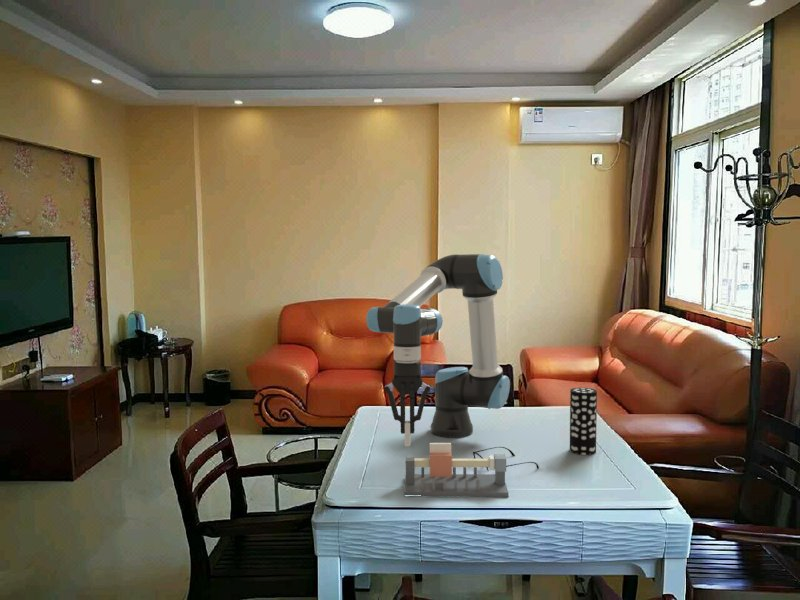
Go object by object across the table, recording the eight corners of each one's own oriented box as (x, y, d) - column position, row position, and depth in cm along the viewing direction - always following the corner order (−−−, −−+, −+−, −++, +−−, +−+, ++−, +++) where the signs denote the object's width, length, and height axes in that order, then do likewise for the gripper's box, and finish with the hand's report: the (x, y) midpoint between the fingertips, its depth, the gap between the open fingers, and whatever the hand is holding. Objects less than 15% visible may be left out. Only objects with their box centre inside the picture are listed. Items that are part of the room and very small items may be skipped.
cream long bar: (408, 471, 184) (408, 458, 183) (408, 466, 187) (408, 454, 187) (506, 471, 182) (506, 458, 182) (504, 466, 186) (504, 454, 186)
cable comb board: (404, 496, 179) (403, 467, 178) (405, 478, 193) (405, 451, 192) (508, 496, 178) (508, 467, 177) (502, 478, 192) (502, 451, 191)
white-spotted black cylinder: (597, 455, 211) (598, 393, 210) (570, 454, 213) (571, 392, 211) (594, 447, 219) (595, 388, 218) (569, 446, 221) (569, 387, 219)
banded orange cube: (429, 476, 182) (429, 446, 182) (429, 469, 188) (429, 440, 188) (451, 477, 182) (451, 446, 181) (451, 469, 188) (450, 440, 187)
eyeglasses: (469, 462, 207) (469, 450, 207) (512, 455, 214) (512, 443, 213) (498, 479, 192) (498, 466, 192) (543, 471, 199) (543, 458, 198)
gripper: (382, 363, 179) (383, 448, 181) (431, 363, 179) (431, 448, 181) (384, 358, 187) (385, 440, 189) (430, 358, 186) (430, 441, 188)
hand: (407, 444), depth 185 cm, fingers closed
